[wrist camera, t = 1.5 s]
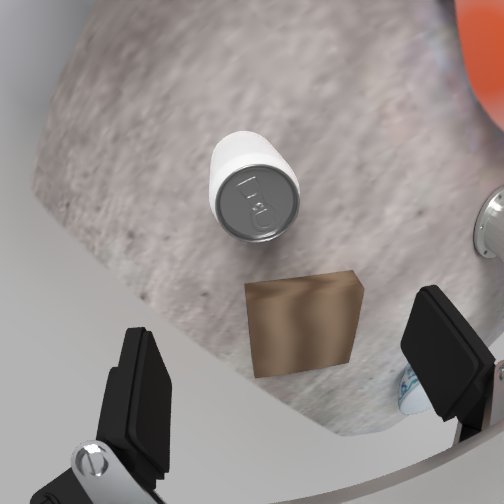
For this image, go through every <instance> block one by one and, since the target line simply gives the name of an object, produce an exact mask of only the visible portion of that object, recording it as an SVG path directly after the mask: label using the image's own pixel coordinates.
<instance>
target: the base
mask: <svg viewBox="0 0 504 504" xmlns="http://www.w3.org/2000/svg"><path fill="white" fill-rule="evenodd" d="M245 294H246V304H247V314H248V324H249V334H250V344H251V354H252V362H253V369H254V376H255V378H262V377H269V376H276V375H283V374H290V373H296V372H302V371H308V370H314V369H319V368H325V367H330V366H335V365H340V364H345V363H349V360H350V355H351V351H352V347H353V343H354V338H355V334H356V329H357V324H358V320H359V315H360V310H361V304H362V299H363V294H364V287H363V286H362V284H361V282H360V281H359V279H358V278H357V276H356V275H355V273H354V271H353V270H351V271H343V272H336V273H329V274H321V275H314V276H306V277H298V278H290V279H282V280H274V281H265V282H257V283H248V284H245Z"/></svg>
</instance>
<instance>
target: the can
mask: <svg viewBox="0 0 504 504" xmlns="http://www.w3.org/2000/svg"><path fill="white" fill-rule="evenodd" d="M299 198H300V190H299V184H298V181H297V178H296V176H295V174H294V172H293V171H292V169H291V168H290V166H289V165H288V164H287V163H286V161H285V160H284V159H283V158H282V157H281V155H280V154H279V153H278V152H277V151H276V150H275V149H274V147H273V146H272V145H271V144H270V143H269V142H268V141H267V140H266V139H265V138H264V137H262V136H260V135H259V134H256V133H253V132H249V131H239V132H235V133H232V134H229V135H227V136H226V137H224V138H223V139H222V140H221V141H220V142H219V143H218V144H217V146H216V147H215V149H214V151H213V154H212V158H211V167H210V183H209V201H210V206H211V209H212V212H213V214H214V216H215V218H216V219H217V221H218V222H219V223H220V224H221V226H222V227H223V229H224V230H225V231H226V232H227V233H228V234H230V235H231V236H233V237H234V238H236V239H238V240H241V241H244V242H249V243H261V242H267V241H270V240H273V239H275V238H277V237H279V236H280V235H282V234H283V233H284V232H286V231H287V230H288V229H289V228H290V226H291V225H292V224H293V222H294V221H295V219H296V217H297V214H298V211H299V205H300V199H299Z"/></svg>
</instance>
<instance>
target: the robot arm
mask: <svg viewBox="0 0 504 504" xmlns="http://www.w3.org/2000/svg"><path fill="white" fill-rule="evenodd" d="M474 243H475V247H476V250H477V251H478V252H479V254H481V255H482V256H483V257H485V258H489V259H491V258H495V257H498V258H499V259H500V260H501V261H502V262H503V263H504V186H503V187H501V188H499V189H497V190H496V191H495V192H494V193H492V194H491V196H490V197H489V198H488V199H487V201H486V202H485V204H484V205H483V207H482V209H481V211H480V213H479V216H478V218H477V222H476V226H475V232H474ZM401 350H402V352H403V354H404V355H405V357H406V359H407V360H408V362H409V364H410V366H411V368H412V369H413V371H414V373H415V375H416V376H417V378H418V380H419V382H420V384H421V386H422V387H423V389H424V391H425V393H426V395H427V397H428V398H429V400H430V402H431V404H432V406H433V408H434V410H435V412H436V414H437V415H438V416H440V417H442V419H443V421H444V422H445V421H447V420H450V419H452V418H454V417H455V416H457V419H458V424H457V430H456V433H455V438H454V442H453V446H452V447H451V448H449V449H447V450H445V451H443V452H441V453H439V454H437V455H434V456H432V457H430V458H428V459H425V460H423V461H421V462H418V463H416V464H414V465H411V466H408V467H406V468H403V469H401V470H398V471H396V472H393V473H390V474H387V475H385V476H382V477H379V478H376V479H373V480H370V481H367V482H364V483H361V484H357V485H354V486H351V487H347V488H343V489H339V490H336V491H332V492H327V493H323V494H319V495H315V496H310V497H305V498H300V499H295V500H290V501H284V502H278V503H272V504H504V360H502V361H500V362H498V364H497V365H495V364H494V362H495V360H496V359H495V358H494V356H493V355H492V354H491V352H490V351H489V349H488V348H487V347H486V345H485V344H484V343H483V341H482V340H481V339H480V337H479V336H478V335H477V334H476V332H475V331H474V330H473V328H472V327H471V326H470V325H469V323H468V322H467V321H466V320H465V318H464V317H463V316H462V315H461V313H460V312H459V311H458V310H457V308H456V307H455V306H454V305H453V304H452V302H451V301H450V300H449V299H448V298H447V297H446V295H445V294H444V293H443V292H442V291H441V290H440V288H439V287H438V286H437V285H430V286H425V287H422V288H421V289H420V290H419V292H418V293H417V294H416V297H415V301H414V304H413V307H412V310H411V313H410V317H409V320H408V323H407V326H406V328H405V331H404V334H403V337H402V340H401ZM171 397H172V383H171V379H170V376H169V374H168V372H167V369H166V367H165V364H164V362H163V360H162V357H161V355H160V352H159V350H158V347H157V345H156V342H155V339H154V337H153V334H152V332H151V331H146V329H145V327H137V328H128V329H127V331H126V334H125V338H124V343H123V347H122V351H121V355H120V360H119V364H118V367H112V368H111V369H110V372H109V375H108V380H107V384H106V389H105V393H104V398H103V403H102V408H101V413H100V419H99V424H98V430H97V436H96V440H91V441H86V442H83V443H81V444H80V445H79V446H78V447H76V449H75V450H74V452H73V453H72V457H71V468H69V469H68V470H67V471H65V472H64V473H62V474H61V475H60V476H58V477H57V478H56V479H54V480H53V481H52V482H50V483H48V484H47V485H46V486H44V487H43V488H41V489H40V490H38V491H37V492H36V493H35V494H34V495H33V496H32V498H31V500H30V504H167V503H166V502H165V501H164V500H163V499H162V498H161V497H160V496H159V495H158V493H156V491H155V490H154V489H155V488H156V479H158V480H164V473H168V472H169V467H170V466H169V465H170V464H169V463H170V420H171V419H170V418H171Z"/></svg>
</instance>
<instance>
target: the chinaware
mask: <svg viewBox="0 0 504 504" xmlns="http://www.w3.org/2000/svg"><path fill="white" fill-rule="evenodd" d="M404 372H405V374H404V376H403V378H402V380H401V382H400V385H399V390H398V404H399V409H400V412H401V413H402V414H404V415H413V414H417V413H420V412H423V411H425V410H427V409H429V408H431V407H433V406H432V404H431V402H430V400H429V398H428V397H427V395H426V393H425V391H424V389H423V387H422V386H421V384H420V382H419V380H418V378H417V376H416V375H415V373H414V371H413V369H412V368H411V366H410V364H409V363H408V365H407V366H406V368H405V371H404Z"/></svg>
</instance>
